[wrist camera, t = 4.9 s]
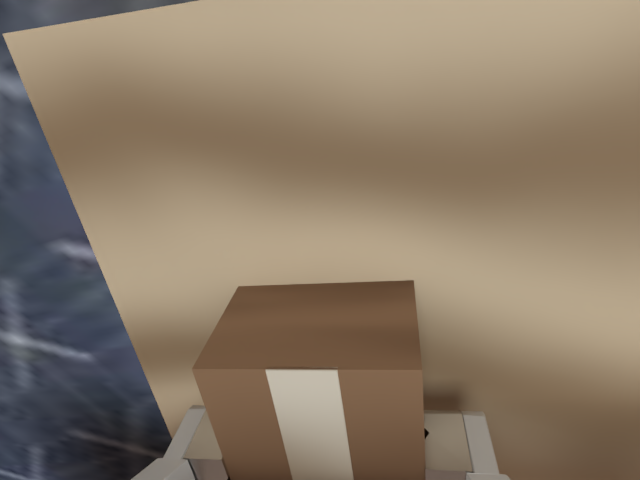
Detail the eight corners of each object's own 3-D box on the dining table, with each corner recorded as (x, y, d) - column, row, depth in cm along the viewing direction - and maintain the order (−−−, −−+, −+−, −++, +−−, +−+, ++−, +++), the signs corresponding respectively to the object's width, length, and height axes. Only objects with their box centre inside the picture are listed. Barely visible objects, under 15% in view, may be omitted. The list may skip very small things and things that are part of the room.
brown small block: (238, 286, 11) (191, 370, 8) (413, 280, 10) (422, 371, 8) (283, 461, 14) (259, 563, 12) (421, 468, 13) (429, 579, 11)
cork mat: (23, 33, 9) (2, 33, 9) (1748, -259, 5) (1905, -290, 5) (227, 544, 18) (222, 559, 18) (918, 602, 14) (939, 625, 13)
